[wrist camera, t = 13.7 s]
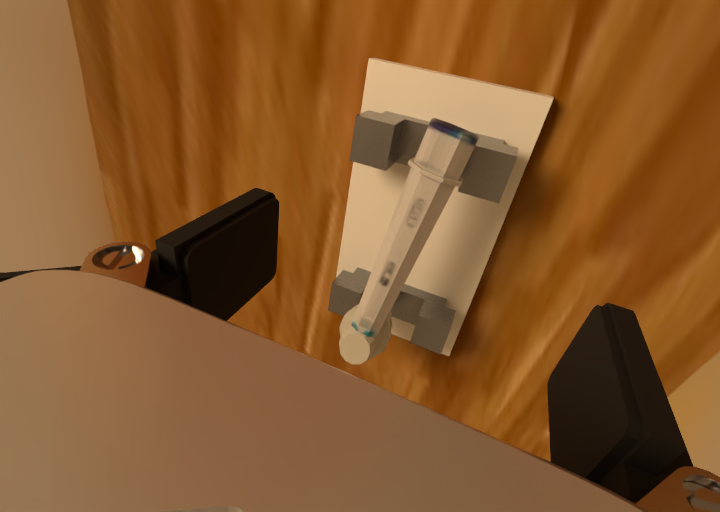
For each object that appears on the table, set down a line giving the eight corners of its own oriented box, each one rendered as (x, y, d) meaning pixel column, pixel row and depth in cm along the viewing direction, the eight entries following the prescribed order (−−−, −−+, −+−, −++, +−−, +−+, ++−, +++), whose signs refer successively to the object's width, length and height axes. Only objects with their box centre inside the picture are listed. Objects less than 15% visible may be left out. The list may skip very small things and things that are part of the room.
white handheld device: (488, 144, 26) (364, 391, 37) (490, 137, 32) (382, 352, 43) (418, 114, 27) (317, 365, 38) (432, 113, 32) (341, 330, 44)
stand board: (374, 57, 35) (368, 58, 34) (552, 96, 32) (553, 98, 30) (336, 303, 51) (331, 310, 50) (451, 348, 48) (448, 356, 46)
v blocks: (374, 107, 36) (356, 115, 32) (518, 143, 33) (517, 156, 29) (343, 289, 48) (328, 310, 44) (448, 329, 45) (440, 354, 41)
